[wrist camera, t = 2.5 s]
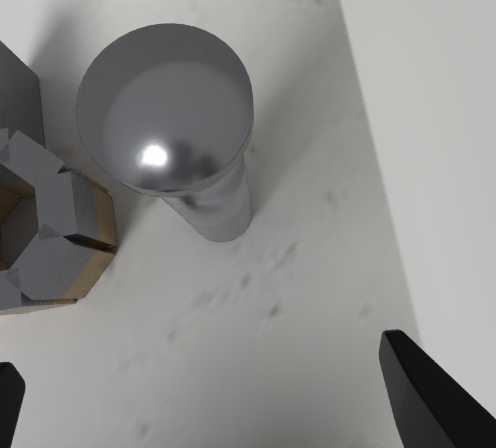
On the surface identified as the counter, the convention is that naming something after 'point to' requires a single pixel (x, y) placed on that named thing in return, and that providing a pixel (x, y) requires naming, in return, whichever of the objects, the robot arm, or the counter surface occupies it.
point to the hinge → (46, 205)
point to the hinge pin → (173, 123)
